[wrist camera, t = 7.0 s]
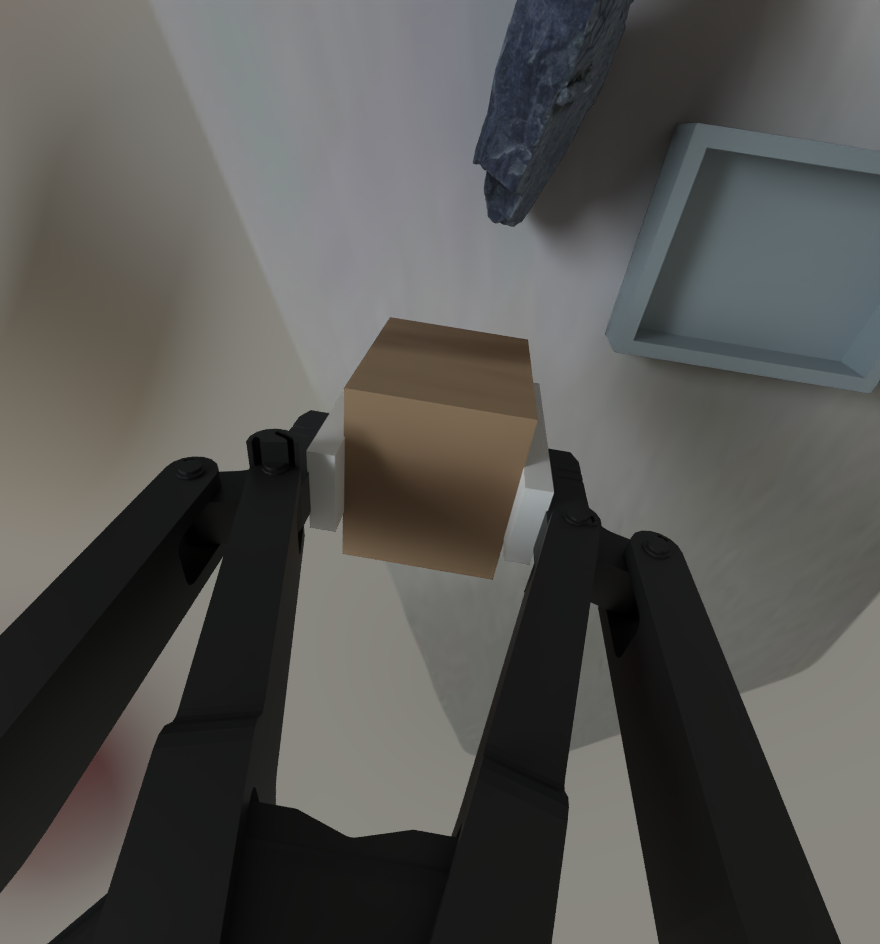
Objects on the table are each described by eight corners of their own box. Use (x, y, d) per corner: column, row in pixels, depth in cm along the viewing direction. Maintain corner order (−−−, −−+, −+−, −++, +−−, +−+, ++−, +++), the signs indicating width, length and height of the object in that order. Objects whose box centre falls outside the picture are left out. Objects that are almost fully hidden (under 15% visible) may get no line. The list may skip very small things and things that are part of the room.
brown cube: (390, 317, 17) (344, 387, 12) (527, 339, 17) (537, 419, 12) (381, 455, 20) (342, 553, 16) (495, 474, 20) (492, 579, 15)
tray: (676, 123, 23) (697, 122, 21) (976, 170, 23) (1032, 174, 20) (605, 333, 29) (614, 351, 27) (839, 371, 29) (870, 393, 27)
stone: (581, 226, 26) (614, 268, 18) (473, 212, 26) (457, 248, 18) (681, -179, 18) (823, -434, 10) (523, -195, 18) (535, -455, 10)
